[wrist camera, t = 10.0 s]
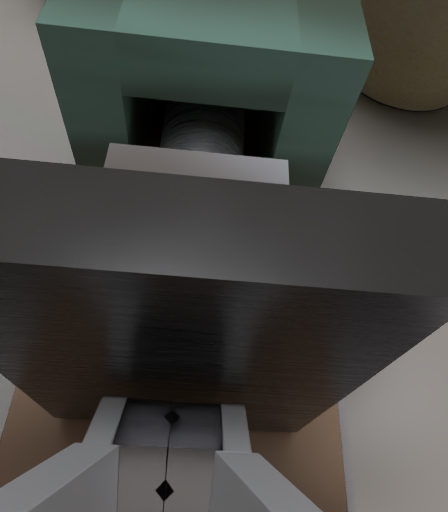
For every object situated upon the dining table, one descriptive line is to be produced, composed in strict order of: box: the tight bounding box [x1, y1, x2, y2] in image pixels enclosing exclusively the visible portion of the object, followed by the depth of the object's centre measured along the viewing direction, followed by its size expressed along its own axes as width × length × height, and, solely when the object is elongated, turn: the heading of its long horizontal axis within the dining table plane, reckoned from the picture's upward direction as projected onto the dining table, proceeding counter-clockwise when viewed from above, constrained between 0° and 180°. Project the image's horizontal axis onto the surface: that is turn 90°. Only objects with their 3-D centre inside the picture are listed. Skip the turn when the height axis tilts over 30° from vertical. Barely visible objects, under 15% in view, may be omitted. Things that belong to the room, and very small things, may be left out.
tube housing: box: [0, 0, 374, 512], centre depth 13 cm, size 23×10×8 cm, turn 178°
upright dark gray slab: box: [0, 100, 448, 433], centre depth 12 cm, size 14×7×9 cm, turn 178°
